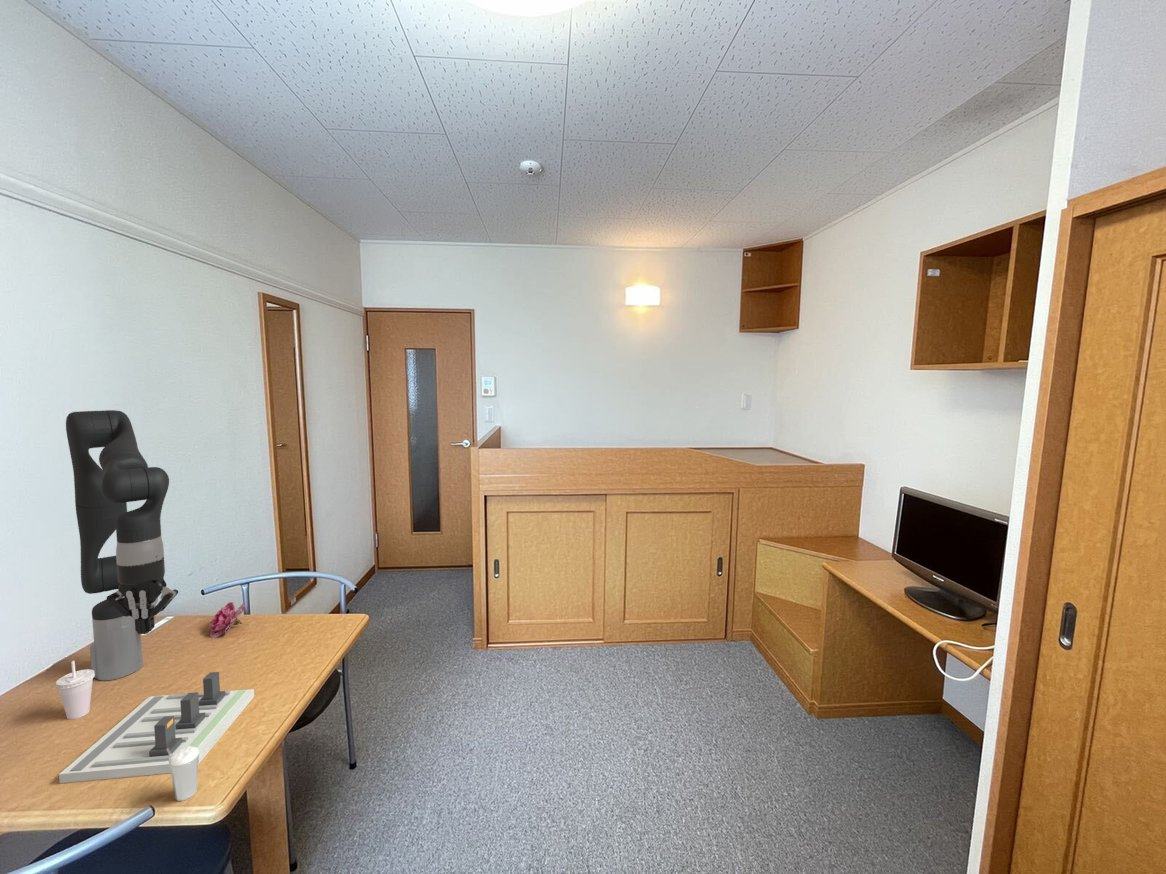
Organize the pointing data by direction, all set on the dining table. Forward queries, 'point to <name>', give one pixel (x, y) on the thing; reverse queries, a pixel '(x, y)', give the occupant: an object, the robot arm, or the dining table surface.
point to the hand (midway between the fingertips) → (145, 632)
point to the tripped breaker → (165, 737)
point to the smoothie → (76, 692)
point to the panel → (135, 734)
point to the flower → (225, 619)
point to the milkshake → (184, 772)
